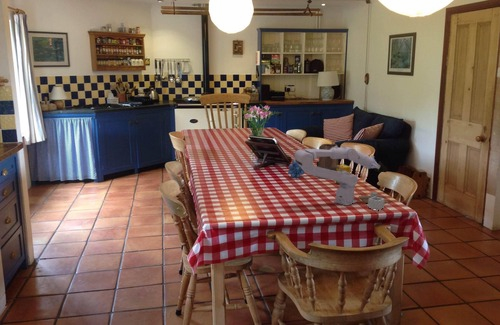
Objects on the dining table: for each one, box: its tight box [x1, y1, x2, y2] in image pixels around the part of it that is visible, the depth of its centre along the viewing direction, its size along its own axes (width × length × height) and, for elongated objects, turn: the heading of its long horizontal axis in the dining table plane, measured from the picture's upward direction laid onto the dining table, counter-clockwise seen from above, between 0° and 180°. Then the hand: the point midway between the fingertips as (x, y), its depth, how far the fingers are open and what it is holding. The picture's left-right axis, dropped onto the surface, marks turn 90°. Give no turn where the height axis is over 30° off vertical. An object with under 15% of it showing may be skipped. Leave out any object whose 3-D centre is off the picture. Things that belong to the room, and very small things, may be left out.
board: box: [358, 191, 390, 204], centre depth 239 cm, size 12×12×4 cm
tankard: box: [314, 143, 339, 180], centre depth 289 cm, size 24×17×20 cm
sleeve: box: [367, 197, 386, 211], centre depth 225 cm, size 6×6×5 cm
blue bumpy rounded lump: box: [287, 159, 305, 179], centre depth 282 cm, size 12×7×12 cm, turn 98°
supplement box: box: [335, 164, 351, 185], centre depth 269 cm, size 6×6×11 cm
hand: (382, 168), depth 239 cm, fingers open, 7 cm apart
